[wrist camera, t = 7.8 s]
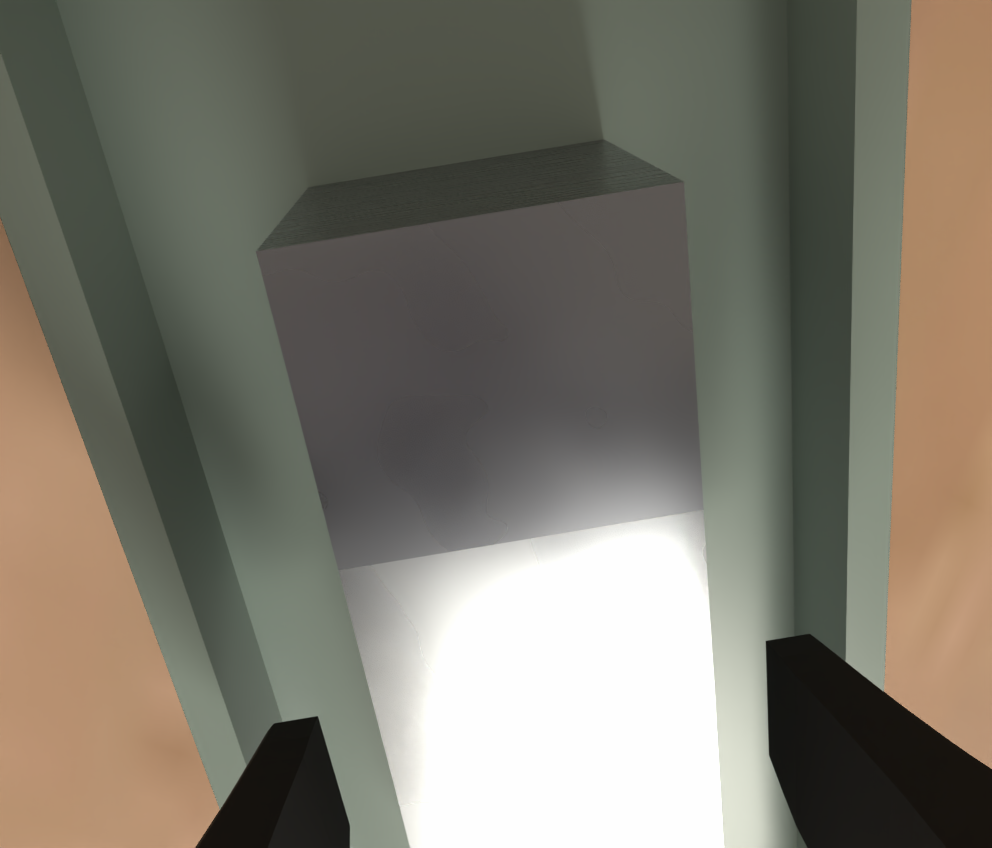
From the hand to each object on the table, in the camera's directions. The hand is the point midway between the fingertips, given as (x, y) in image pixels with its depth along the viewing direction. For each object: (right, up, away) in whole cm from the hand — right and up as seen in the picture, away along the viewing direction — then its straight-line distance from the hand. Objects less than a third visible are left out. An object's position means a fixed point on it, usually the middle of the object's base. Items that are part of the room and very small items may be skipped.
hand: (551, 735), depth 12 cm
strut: (0, +1, +3) cm, 3 cm away
